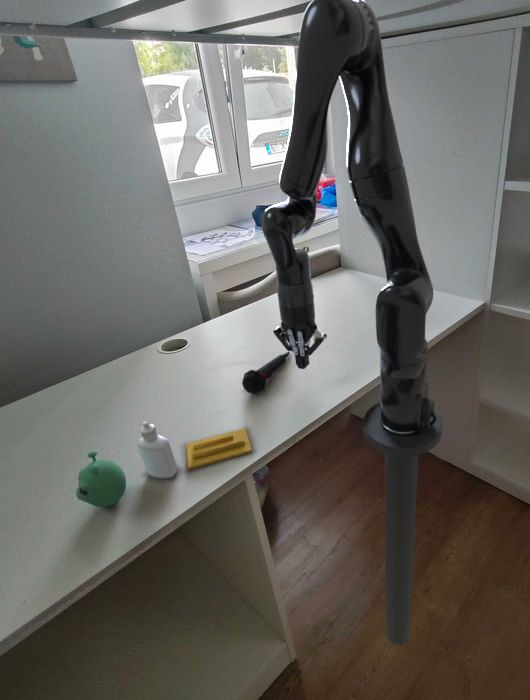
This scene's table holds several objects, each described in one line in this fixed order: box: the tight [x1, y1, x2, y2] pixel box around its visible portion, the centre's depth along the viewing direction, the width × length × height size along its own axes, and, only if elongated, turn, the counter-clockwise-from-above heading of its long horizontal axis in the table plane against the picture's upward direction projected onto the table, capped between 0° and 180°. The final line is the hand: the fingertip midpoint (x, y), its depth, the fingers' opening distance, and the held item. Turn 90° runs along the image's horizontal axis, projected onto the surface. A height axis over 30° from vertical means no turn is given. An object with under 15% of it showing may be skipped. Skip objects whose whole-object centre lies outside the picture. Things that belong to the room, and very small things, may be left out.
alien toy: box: [75, 450, 127, 508], centre depth 75 cm, size 7×8×10 cm
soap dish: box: [185, 427, 253, 470], centre depth 87 cm, size 12×7×2 cm, turn 110°
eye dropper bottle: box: [136, 420, 179, 479], centre depth 80 cm, size 4×6×12 cm
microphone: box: [241, 351, 291, 394], centre depth 109 cm, size 6×6×20 cm
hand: (303, 367), depth 103 cm, fingers closed
